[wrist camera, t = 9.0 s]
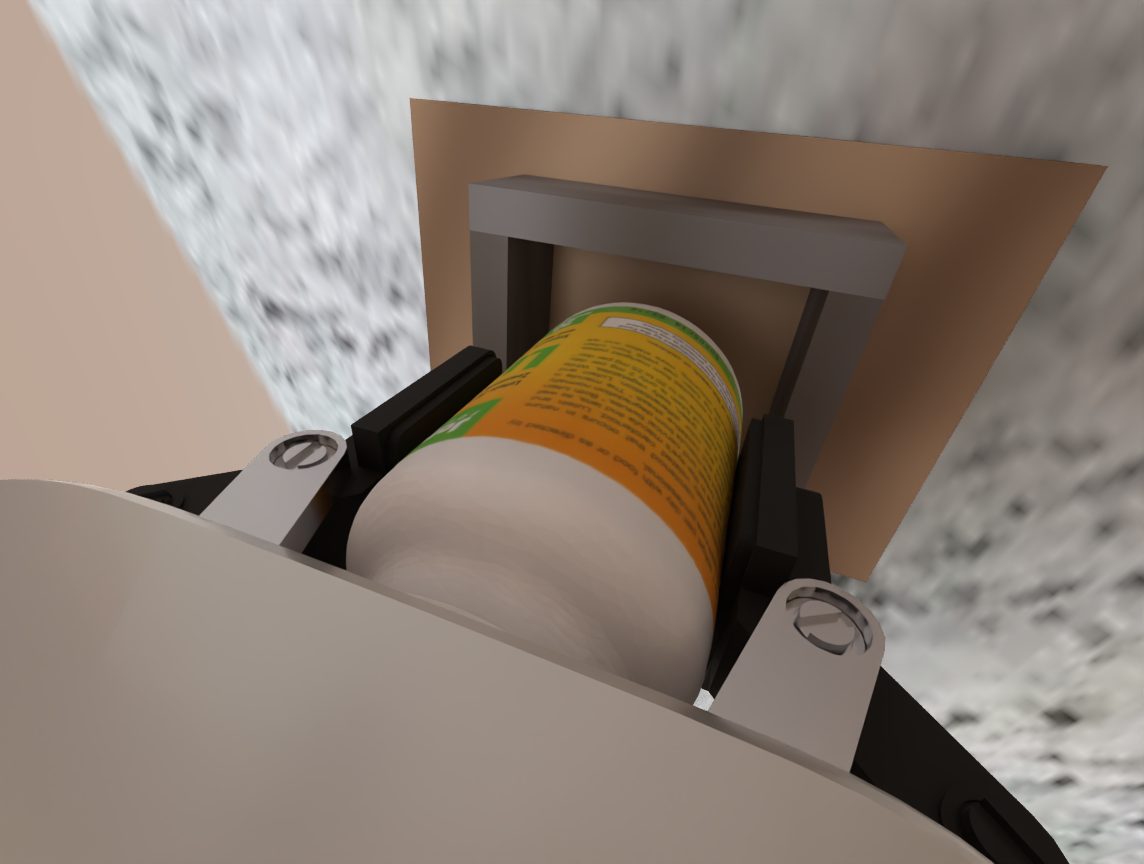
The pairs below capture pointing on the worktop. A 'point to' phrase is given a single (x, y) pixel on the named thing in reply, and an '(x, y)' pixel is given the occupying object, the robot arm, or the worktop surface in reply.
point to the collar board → (753, 271)
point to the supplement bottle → (577, 498)
